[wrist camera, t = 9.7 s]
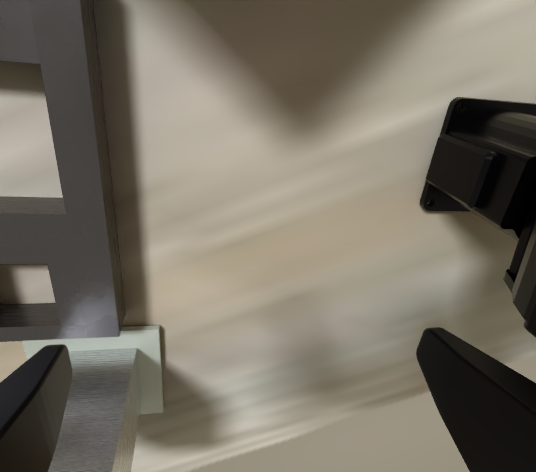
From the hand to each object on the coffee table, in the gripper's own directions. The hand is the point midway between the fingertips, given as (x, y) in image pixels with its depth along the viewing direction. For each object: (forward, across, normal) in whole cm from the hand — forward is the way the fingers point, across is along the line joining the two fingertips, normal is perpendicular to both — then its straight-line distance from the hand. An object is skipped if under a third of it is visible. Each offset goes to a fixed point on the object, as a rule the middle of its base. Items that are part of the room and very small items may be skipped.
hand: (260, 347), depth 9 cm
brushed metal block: (+12, +8, +14) cm, 20 cm away
